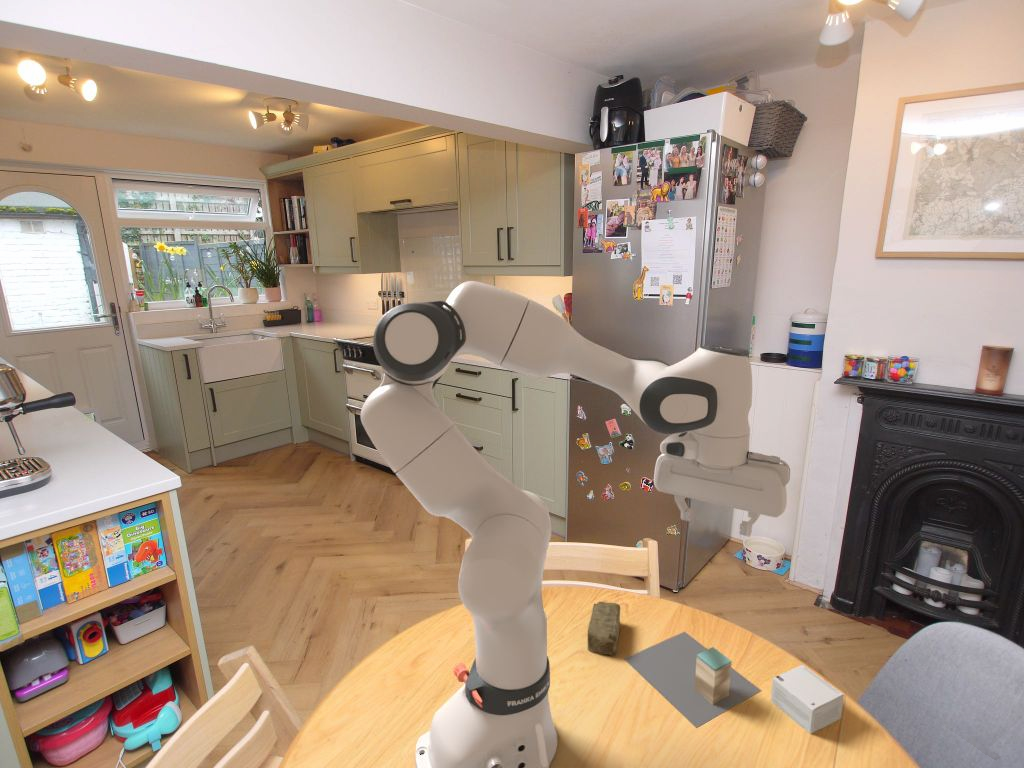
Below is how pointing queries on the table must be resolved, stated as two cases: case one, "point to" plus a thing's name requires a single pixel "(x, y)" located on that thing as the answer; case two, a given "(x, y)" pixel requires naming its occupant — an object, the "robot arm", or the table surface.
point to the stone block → (604, 628)
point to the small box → (807, 698)
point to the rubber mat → (686, 678)
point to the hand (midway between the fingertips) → (715, 526)
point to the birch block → (712, 675)
